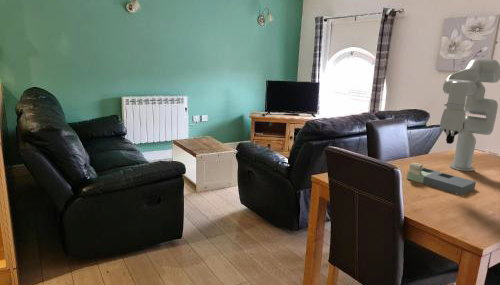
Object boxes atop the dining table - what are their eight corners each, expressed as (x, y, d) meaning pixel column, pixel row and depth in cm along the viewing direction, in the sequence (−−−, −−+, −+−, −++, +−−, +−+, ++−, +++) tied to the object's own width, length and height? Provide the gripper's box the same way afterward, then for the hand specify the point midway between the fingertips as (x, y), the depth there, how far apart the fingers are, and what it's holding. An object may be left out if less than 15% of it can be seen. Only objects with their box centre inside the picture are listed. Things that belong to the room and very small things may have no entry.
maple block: (411, 171, 196) (412, 162, 194) (421, 173, 193) (422, 164, 191) (408, 173, 192) (410, 164, 191) (418, 175, 189) (420, 166, 188)
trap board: (420, 173, 204) (421, 167, 203) (474, 189, 183) (475, 181, 182) (406, 178, 196) (407, 171, 195) (461, 195, 174) (462, 187, 173)
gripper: (436, 105, 180) (431, 141, 185) (468, 109, 168) (461, 147, 173) (443, 104, 184) (438, 139, 189) (475, 108, 173) (468, 145, 177)
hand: (449, 143), depth 181 cm, fingers closed
